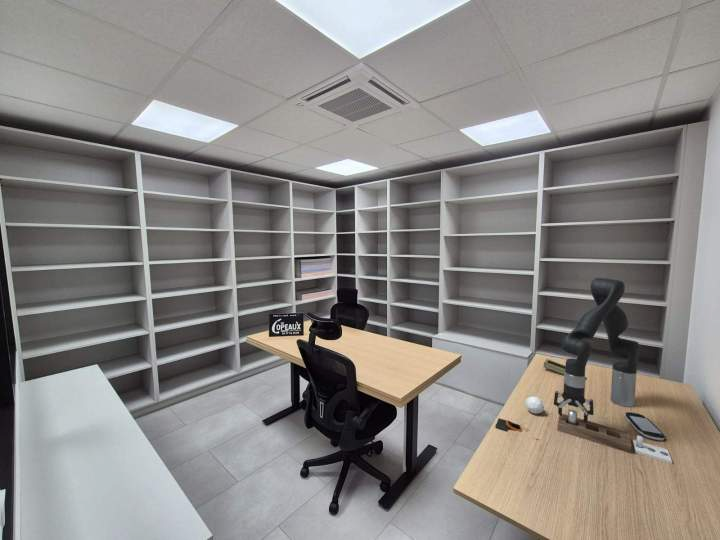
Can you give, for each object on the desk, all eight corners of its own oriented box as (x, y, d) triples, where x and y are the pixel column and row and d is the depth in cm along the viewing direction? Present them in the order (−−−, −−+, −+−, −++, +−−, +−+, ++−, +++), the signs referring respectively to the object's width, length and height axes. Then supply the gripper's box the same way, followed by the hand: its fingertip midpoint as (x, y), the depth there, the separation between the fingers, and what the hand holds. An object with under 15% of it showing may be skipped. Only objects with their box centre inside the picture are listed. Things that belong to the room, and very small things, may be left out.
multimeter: (545, 431, 131) (545, 424, 130) (540, 445, 122) (540, 437, 121) (501, 416, 142) (501, 410, 142) (493, 428, 133) (494, 421, 133)
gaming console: (620, 415, 143) (621, 409, 143) (644, 418, 140) (645, 413, 139) (641, 439, 125) (642, 433, 125) (669, 444, 122) (670, 438, 122)
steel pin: (567, 425, 134) (568, 408, 133) (576, 428, 132) (577, 411, 132) (567, 429, 132) (568, 411, 131) (576, 431, 130) (577, 414, 129)
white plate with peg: (632, 441, 123) (633, 430, 122) (667, 451, 117) (668, 439, 116) (635, 452, 116) (636, 440, 116) (671, 463, 110) (672, 451, 110)
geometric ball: (532, 419, 144) (524, 408, 142) (529, 405, 151) (521, 394, 149) (549, 415, 140) (541, 404, 139) (544, 401, 147) (537, 390, 145)
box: (544, 365, 198) (546, 358, 197) (585, 380, 183) (588, 373, 182) (541, 369, 191) (543, 362, 190) (584, 385, 177) (586, 378, 176)
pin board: (559, 418, 139) (559, 412, 139) (627, 438, 125) (628, 431, 125) (557, 430, 131) (557, 424, 130) (630, 453, 116) (631, 446, 116)
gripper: (594, 384, 129) (592, 420, 130) (555, 376, 137) (553, 409, 139) (595, 391, 123) (592, 428, 124) (554, 382, 131) (552, 416, 133)
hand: (572, 418), depth 132 cm, fingers open, 8 cm apart
